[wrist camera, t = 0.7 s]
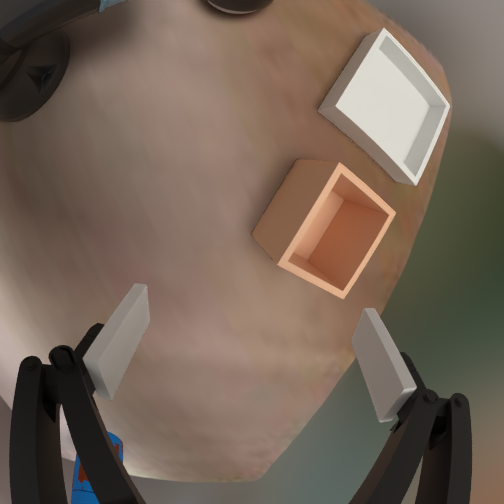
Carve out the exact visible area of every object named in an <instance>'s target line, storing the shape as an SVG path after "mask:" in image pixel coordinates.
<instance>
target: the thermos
mask: <svg viewBox="0 0 504 504" xmlns="http://www.w3.org/2000/svg"><path fill="white" fill-rule="evenodd" d="M108 435H109V437H110V439H111V441H112V443H113V445H114V447H115V450H116V452H117V454H118V456H119V458H120V460H121V461H122V463H123V444H122V441H121V440H120V439H119V438H118V437H116V436H115V435H114V434H112V433H109V432H108ZM71 504H99V502H98V500H97V498H96V496H95V494H94V492H93V490H92V488H91V485H90V483H89V481H88V479H87V476H86V474H85V472H84V469H83V467H82V465H81V462H80V460H79V457H78V454H76V461H75V468H74V475H73V484H72V496H71Z"/></svg>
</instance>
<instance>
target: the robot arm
mask: <svg viewBox="0 0 504 504" xmlns="http://www.w3.org/2000/svg"><path fill="white" fill-rule="evenodd" d="M124 1H126V0H0V120H3V121H18V120H21V119H24V118H26V117H28V116H29V115H31V114H33V113H34V112H35V111H37V110H38V109H39V108H40V107H41V106H42V105H43V104H44V103H45V102H46V101H47V100H48V99H49V98H50V96H51V95H52V94H53V92H54V91H55V89H56V88H57V86H58V85H59V83H60V81H61V79H62V77H63V75H64V73H65V70H66V67H67V64H68V60H69V54H70V46H69V41H68V38H67V36H66V34H65V33H64V32H63V31H62V30H61V29H60V28H61V27H63V26H65V25H67V24H69V23H71V22H74V21H76V20H78V19H81V18H83V17H85V16H88V15H90V14H93V13H95V12H102V11H104V9H105V8H107V7H110V6H113V5H115V4H118V3H121V2H124ZM149 323H150V314H149V304H148V294H147V285H146V284H139V283H135V284H134V285H133V286H132V288H131V289H130V290H129V292H128V293H127V295H126V296H125V297H124V299H123V300H122V301H121V303H120V304H119V306H118V307H117V308H116V310H115V311H114V313H113V314H112V315H111V317H110V318H109V320H108V321H107V323H106V324H105V325H104V324H100V323H97V324H95V325H94V326H92V327H91V328H90V329H89V330H88V332H87V333H86V335H85V336H84V337H83V339H82V340H81V342H80V343H79V344H78V346H77V347H76V349H75V350H74V351H73V349H72V348H71V347H69V346H66V345H59V346H57V347H55V348H53V349H52V350H51V351H50V353H49V360H50V362H51V365H47V364H42V362H41V360H40V359H39V358H38V357H36V356H29V357H27V358H25V359H24V360H23V361H22V362H21V364H20V367H19V372H18V377H17V383H16V388H15V395H14V401H13V409H12V419H11V431H10V454H9V457H10V458H9V459H10V460H9V467H10V488H11V499H12V504H68V502H67V496H66V490H65V484H64V477H63V469H62V459H61V445H60V404H62V407H63V411H64V414H65V418H66V421H67V425H68V428H69V431H70V434H71V437H72V440H73V443H74V446H75V449H76V452H77V454H78V457H79V460H80V462H81V465H82V467H83V469H84V472H85V474H86V476H87V479H88V481H89V483H90V485H91V488H92V490H93V492H94V494H95V496H96V498H97V500H98V502H99V504H146V503H145V501H144V500H143V498H142V496H141V495H140V493H139V492H138V490H137V488H136V487H135V485H134V483H133V482H132V480H131V478H130V476H129V474H128V473H127V471H126V469H125V467H124V465H123V463H122V461H121V460H120V458H119V456H118V454H117V452H116V450H115V447H114V445H113V443H112V441H111V439H110V437H109V435H108V432H107V430H106V428H105V425H104V423H103V421H102V418H101V416H100V413H99V411H98V408H97V405H96V403H95V400H94V398H93V396H92V395H93V393H94V391H95V390H96V392H97V394H98V396H99V397H102V398H105V399H108V400H111V401H112V399H113V397H114V395H115V393H116V390H117V388H118V386H119V384H120V382H121V380H122V378H123V375H124V373H125V371H126V369H127V367H128V365H129V363H130V361H131V359H132V357H133V355H134V353H135V351H136V349H137V347H138V345H139V343H140V341H141V339H142V337H143V335H144V333H145V331H146V329H147V327H148V325H149ZM351 343H352V346H353V349H354V351H355V354H356V357H357V359H358V362H359V365H360V367H361V370H362V373H363V376H364V378H365V381H366V384H367V387H368V390H369V392H370V396H371V399H372V401H373V404H374V407H375V410H376V413H377V416H378V419H379V422H385V421H391V420H392V419H393V418H394V417H395V415H396V414H397V415H398V418H399V420H398V421H397V422H396V423H395V425H394V426H393V427H392V428H391V429H390V431H392V432H391V434H390V436H389V438H388V440H387V442H386V444H385V446H384V448H383V450H382V451H381V453H380V455H379V457H378V459H377V460H376V462H375V464H374V466H373V467H372V469H371V471H370V472H369V474H368V475H367V477H366V479H365V480H364V482H363V483H362V485H361V486H360V488H359V489H358V491H357V492H356V494H355V495H354V497H353V498H352V500H351V501H350V503H349V504H401V502H402V500H403V498H404V496H405V494H406V492H407V490H408V488H409V486H410V484H411V481H412V479H413V477H414V475H415V473H416V470H417V468H418V465H419V463H420V461H421V458H422V456H423V463H422V469H421V475H420V482H419V486H418V492H417V496H416V501H415V504H469V501H470V491H471V476H472V436H471V435H472V434H471V419H470V408H469V402H468V399H467V398H466V397H465V396H464V395H463V394H460V393H455V394H453V395H452V396H451V398H450V399H445V398H439V396H438V395H437V394H436V393H435V392H434V391H433V390H430V389H426V387H425V385H424V383H423V381H422V379H421V377H420V375H419V374H418V372H417V371H416V368H415V366H414V364H413V362H412V360H411V359H410V357H409V356H407V354H405V353H404V352H399V351H398V349H397V347H396V346H395V344H394V342H393V340H392V338H391V337H390V335H389V333H388V331H387V329H386V327H385V326H384V324H383V322H382V321H381V319H380V317H379V315H378V313H377V312H376V310H375V308H364V309H363V312H362V315H361V317H360V320H359V322H358V325H357V327H356V330H355V332H354V335H353V337H352V340H351ZM423 453H424V454H423Z"/></svg>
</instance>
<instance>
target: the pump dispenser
mask: <svg viewBox="0 0 504 504" xmlns="http://www.w3.org/2000/svg"><path fill="white" fill-rule="evenodd" d="M207 1H208V2H209V3H210V4H211V5H212V6H214V7H215V8H217V9H219V10H221V11H224V12H227V13H233V14H245V13H250V12H254V11H257V10H259V9H262V8H265V7H267V6H268V5H270V4H271V3H272V2H273V1H274V0H207Z"/></svg>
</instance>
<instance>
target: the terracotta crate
mask: <svg viewBox="0 0 504 504" xmlns="http://www.w3.org/2000/svg"><path fill="white" fill-rule="evenodd" d="M395 214H396V212H395V211H394V210H393V209H392V208H391V207H390V206H388V205H387V204H386V203H385V202H384V201H383V200H382V199H381V198H380V197H379V196H378V195H377V194H376V193H375V192H373V191H372V190H371V189H370V188H369V187H368V186H367V185H366V184H365V183H363V182H362V181H361V180H360V179H359V178H358V177H357V176H355V175H354V174H353V173H352V172H351V171H349V170H348V169H347V168H346V167H345V166H343V165H342V164H341V163H340V162H332V161H320V160H305V159H296V161H295V163H294V164H293V166H292V168H291V169H290V171H289V173H288V174H287V176H286V177H285V179H284V181H283V182H282V184H281V186H280V187H279V189H278V191H277V192H276V194H275V196H274V197H273V199H272V201H271V202H270V204H269V205H268V207H267V209H266V210H265V212H264V214H263V215H262V217H261V219H260V220H259V222H258V224H257V225H256V227H255V229H254V230H253V232H252V234H251V235H252V236H253V238H254V239H255V240H256V241H257V242H258V243H259V245H260V246H261V247H262V248H263V249H264V250H265V251H266V253H267V254H268V255H269V256H270V257H271V258H272V260H273V261H274V262H275V263H276V264H277V265H278V266H280V267H282V268H284V269H286V270H288V271H290V272H292V273H294V274H296V275H298V276H300V277H301V278H303V279H305V280H307V281H309V282H311V283H313V284H315V285H317V286H319V287H321V288H323V289H325V290H327V291H329V292H330V293H332V294H334V295H336V296H338V297H340V298H342V299H344V298H345V296H346V295H347V293H348V292H349V290H350V289H351V287H352V286H353V284H354V283H355V281H356V280H357V278H358V276H359V275H360V273H361V272H362V270H363V269H364V267H365V265H366V264H367V262H368V261H369V259H370V257H371V256H372V254H373V252H374V251H375V249H376V247H377V246H378V244H379V242H380V241H381V239H382V237H383V235H384V234H385V232H386V230H387V228H388V227H389V225H390V223H391V221H392V220H393V218H394V216H395Z"/></svg>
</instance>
